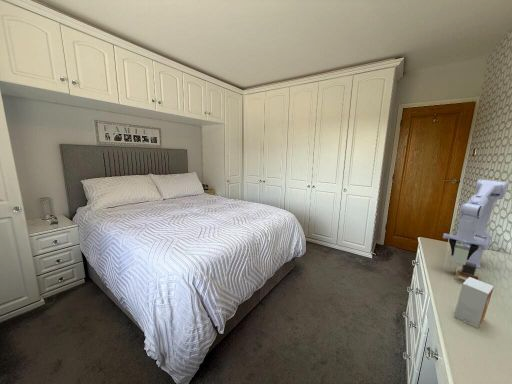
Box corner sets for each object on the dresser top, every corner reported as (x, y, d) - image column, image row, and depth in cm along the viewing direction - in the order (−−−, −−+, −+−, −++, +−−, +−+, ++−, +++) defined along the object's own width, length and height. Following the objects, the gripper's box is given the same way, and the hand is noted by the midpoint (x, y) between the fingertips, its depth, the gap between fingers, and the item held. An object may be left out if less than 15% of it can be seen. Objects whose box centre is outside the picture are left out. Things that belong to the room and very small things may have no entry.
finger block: (452, 257, 104) (455, 244, 102) (465, 261, 101) (468, 247, 99) (451, 261, 100) (455, 247, 98) (465, 265, 97) (468, 251, 95)
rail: (456, 268, 107) (458, 258, 106) (478, 275, 102) (481, 264, 100) (455, 281, 96) (458, 270, 94) (480, 290, 90) (484, 278, 89)
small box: (478, 329, 70) (488, 294, 67) (453, 316, 75) (461, 283, 72) (484, 319, 74) (494, 285, 71) (460, 307, 79) (468, 276, 77)
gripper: (445, 227, 99) (438, 253, 102) (490, 236, 89) (482, 266, 92) (446, 223, 104) (440, 249, 107) (489, 232, 94) (481, 260, 97)
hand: (459, 256), depth 100 cm, fingers closed on finger block, 4 cm apart
